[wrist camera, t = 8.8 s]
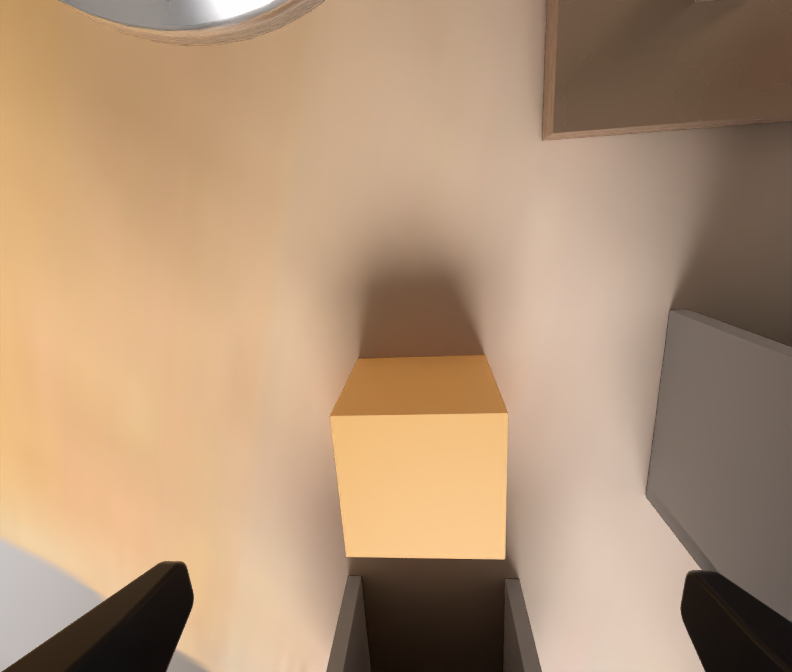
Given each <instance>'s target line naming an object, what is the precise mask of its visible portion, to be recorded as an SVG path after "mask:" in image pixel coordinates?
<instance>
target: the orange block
mask: <svg viewBox="0 0 792 672" xmlns="http://www.w3.org/2000/svg"><path fill="white" fill-rule="evenodd" d="M330 421H331V430H332V438H333V447H334V456H335V464H336V473H337V482H338V490H339V499H340V507H341V516H342V525H343V533H344V542H345V551H346V557H384V558H447V559H505V544H506V491H507V438H508V412H507V409H506V407H505V404H504V402H503V399H502V397H501V394H500V392H499V389H498V387H497V384H496V382H495V379H494V376H493V374H492V371H491V369H490V366H489V364H488V361H487V359H486V356H485V355H461V356H428V357H395V358H362V359H358V361H357V363H356V365H355V367H354V369H353V371H352V373H351V375H350V377H349V379H348V381H347V383H346V385H345V387H344V389H343V391H342V393H341V395H340V397H339V399H338V401H337V403H336V405H335V407H334V409H333V411H332V413H331V415H330Z"/></svg>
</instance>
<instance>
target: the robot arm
mask: <svg viewBox="0 0 792 672" xmlns="http://www.w3.org/2000/svg"><path fill="white" fill-rule="evenodd" d="M193 601H194V594H193V589H192V585H191V581H190V577H189V573H188V570H187V566H186V565H185V563H184V562H181V561H164V562H161V563H159V564H157V565H156V566H154V567H153V568H151V569H150V570H148V571H147V572H145V573H144V574H143V575H141V576H140V577H138V578H137V579H135V580H134V581H132V582H131V583H130V584H128V585H127V586H125V587H124V588H122V589H121V590H119V591H118V592H117V593H115V594H114V595H112V596H111V597H109V598H108V599H106V600H105V601H103V602H102V603H101V604H99V605H98V606H96V607H95V608H93V609H92V610H90V611H89V612H88V613H86V614H85V615H83V616H82V617H80V618H79V619H77V620H76V621H74V622H73V623H72V624H70V625H69V626H67V627H66V628H64V629H63V630H61V631H60V632H59V633H57V634H56V635H54V636H53V637H51V638H50V639H48V640H47V641H45V642H44V643H43V644H41V645H40V646H38V647H37V648H35V649H34V650H32V651H31V652H30V653H28V654H27V655H25V656H24V657H22V658H21V659H19V660H18V661H17V662H15V663H14V664H12V665H11V666H9V667H8V668H7V669H5V670H4V671H2V672H166V671H167V669H168V666H169V664H170V661H171V659H172V656H173V654H174V652H175V649H176V647H177V644H178V642H179V639H180V637H181V634H182V632H183V629H184V627H185V624H186V622H187V619H188V617H189V615H190V612H191V609H192V606H193ZM681 615H682V619H683V622H684V625H685V627H686V629H687V632H688V634H689V636H690V638H691V641H692V643H693V645H694V647H695V650H696V652H697V654H698V656H699V659H700V661H701V663H702V666H703V668H704V670H705V672H792V622H791V621H789V620H788V619H786V618H785V617H783V616H782V615H780V614H779V613H777V612H776V611H774V610H773V609H772V608H770V607H769V606H767V605H766V604H764V603H763V602H761V601H760V600H758V599H757V598H755V597H754V596H752V595H751V594H749V593H748V592H746V591H745V590H743V589H742V588H741V587H739V586H738V585H736V584H735V583H733V582H732V581H730V580H729V579H727V578H726V577H724V576H723V575H721V574H720V573H718V572H715V571H703V570H692V571H689V572H688V573H687V574H686V578H685V584H684V590H683V595H682V601H681Z"/></svg>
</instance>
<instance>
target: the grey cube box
mask: <svg viewBox="0 0 792 672" xmlns="http://www.w3.org/2000/svg"><path fill="white" fill-rule="evenodd" d="M646 498H647V499H648V500H649V502H650V503H651V504H652V506H653V507H654V508H655V509H656V511H657V512H658V513H659V515H660V516H661V517H662V519H663V520H664V521H665V522H666V524H667V525H668V526H669V528H670V529H671V530H672V532H673V533H674V534H675V535H676V537H677V538H678V539H679V541H680V542H681V543H682V545H683V546H684V547H685V549H686V550H687V551H688V552H689V554H690V555H691V556H692V558H693V559H694V560H695V562H696V563H697V564H698V565H699V567H700V568H701V569H702V570H703V571H715V572H718V573H720V574H721V575H723V576H724V577H726V578H727V579H729V580H730V581H732V582H733V583H735V584H736V585H738V586H739V587H741V588H742V589H743V590H745V591H746V592H748V593H749V594H751V595H752V596H754V597H755V598H757V599H758V600H760V601H761V602H763V603H764V604H766V605H767V606H769V607H770V608H772V609H773V610H774V611H776V612H777V613H779V614H780V615H782V616H783V617H785V618H786V619H788V620H789V621H791V622H792V347H790V346H787V345H785V344H782V343H779V342H776V341H774V340H771V339H768V338H765V337H763V336H760V335H757V334H754V333H752V332H749V331H746V330H743V329H741V328H738V327H735V326H732V325H730V324H727V323H724V322H721V321H719V320H716V319H713V318H710V317H707V316H705V315H702V314H699V313H696V312H694V311H691V310H688V309H686V310H670V312H669V320H668V328H667V336H666V343H665V351H664V359H663V367H662V374H661V382H660V390H659V398H658V405H657V413H656V421H655V429H654V437H653V444H652V452H651V460H650V468H649V475H648V483H647V491H646Z"/></svg>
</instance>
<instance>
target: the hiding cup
mask: <svg viewBox="0 0 792 672" xmlns="http://www.w3.org/2000/svg"><path fill="white" fill-rule="evenodd" d="M326 672H371V667H370V657H369V648H368V638H367V629H366V619H365V610H364V600H363V591H362V581H361V576H348V578H347V583H346V587H345V592H344V596H343V600H342V605H341V609H340V614H339V618H338V622H337V627H336V631H335V636H334V640H333V645H332V649H331V653H330V658H329V662H328V667H327V671H326ZM503 672H542V670H541V666H540V662H539V658H538V654H537V650H536V646H535V642H534V638H533V634H532V630H531V626H530V622H529V617H528V613H527V609H526V605H525V601H524V597H523V593H522V589H521V585H520V581H519V579H505V617H504V670H503Z"/></svg>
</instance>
